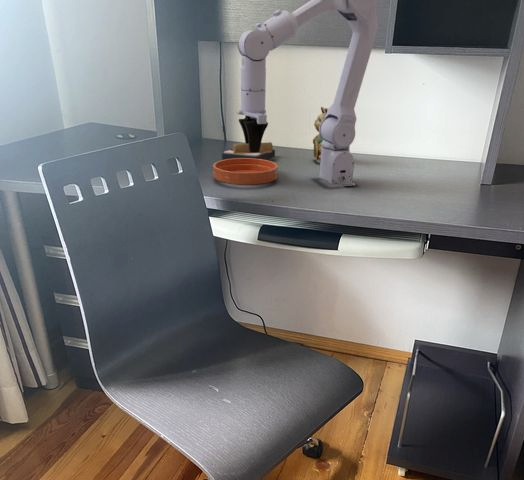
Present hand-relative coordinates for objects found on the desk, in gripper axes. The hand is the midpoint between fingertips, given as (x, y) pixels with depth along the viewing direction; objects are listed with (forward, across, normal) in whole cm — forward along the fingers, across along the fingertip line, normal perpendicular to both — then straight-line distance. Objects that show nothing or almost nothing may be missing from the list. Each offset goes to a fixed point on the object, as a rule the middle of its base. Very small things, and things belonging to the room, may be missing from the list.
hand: (252, 150), depth 132 cm
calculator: (+9, -25, +7) cm, 28 cm away
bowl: (+9, -6, 0) cm, 11 cm away
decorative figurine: (+1, -21, +30) cm, 37 cm away
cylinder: (0, 0, 0) cm, 0 cm away
